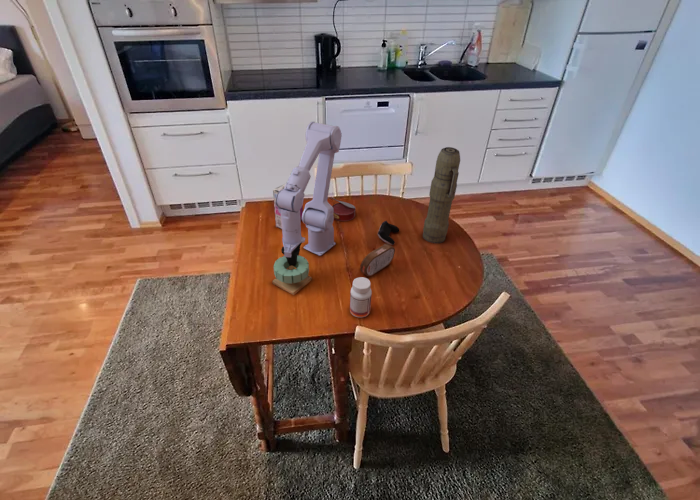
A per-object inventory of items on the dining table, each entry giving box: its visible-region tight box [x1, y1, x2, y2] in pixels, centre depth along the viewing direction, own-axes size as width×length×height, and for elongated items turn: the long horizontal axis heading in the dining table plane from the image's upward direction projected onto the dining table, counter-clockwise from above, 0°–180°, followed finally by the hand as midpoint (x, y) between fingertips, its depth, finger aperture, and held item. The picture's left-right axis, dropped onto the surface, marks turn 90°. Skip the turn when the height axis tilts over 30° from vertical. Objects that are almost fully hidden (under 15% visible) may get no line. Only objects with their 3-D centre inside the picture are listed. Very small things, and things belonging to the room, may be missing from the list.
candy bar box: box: [272, 183, 304, 230], centre depth 151 cm, size 11×5×16 cm, turn 144°
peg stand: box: [271, 266, 313, 296], centre depth 126 cm, size 9×9×6 cm
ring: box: [273, 254, 310, 284], centre depth 125 cm, size 11×11×3 cm
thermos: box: [422, 146, 461, 244], centre depth 141 cm, size 9×12×35 cm
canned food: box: [331, 197, 356, 222], centre depth 161 cm, size 11×10×10 cm
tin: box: [359, 243, 396, 277], centre depth 132 cm, size 15×3×8 cm, turn 134°
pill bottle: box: [349, 276, 373, 319], centre depth 115 cm, size 6×6×11 cm
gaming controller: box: [377, 220, 400, 246], centre depth 149 cm, size 11×4×7 cm
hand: (293, 261), depth 128 cm, fingers closed on ring, 3 cm apart
